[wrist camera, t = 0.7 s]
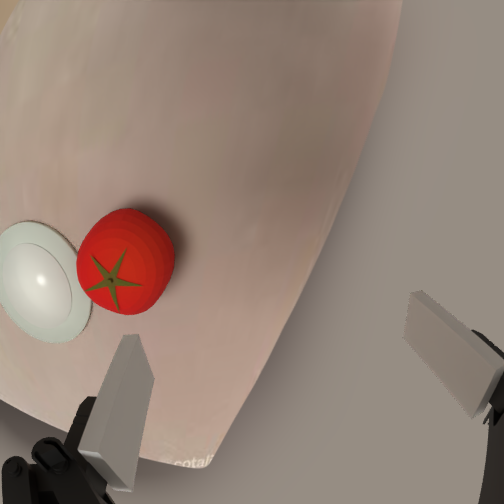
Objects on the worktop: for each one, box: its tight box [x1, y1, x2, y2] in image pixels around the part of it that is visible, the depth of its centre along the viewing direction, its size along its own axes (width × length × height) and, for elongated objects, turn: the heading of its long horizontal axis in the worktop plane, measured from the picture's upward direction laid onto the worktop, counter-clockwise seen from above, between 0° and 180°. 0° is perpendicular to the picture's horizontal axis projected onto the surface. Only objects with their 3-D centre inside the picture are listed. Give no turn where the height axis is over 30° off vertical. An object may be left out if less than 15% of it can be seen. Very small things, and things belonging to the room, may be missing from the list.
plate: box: [0, 221, 92, 343], centre depth 36 cm, size 20×20×1 cm
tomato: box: [76, 208, 175, 315], centre depth 32 cm, size 11×12×10 cm
